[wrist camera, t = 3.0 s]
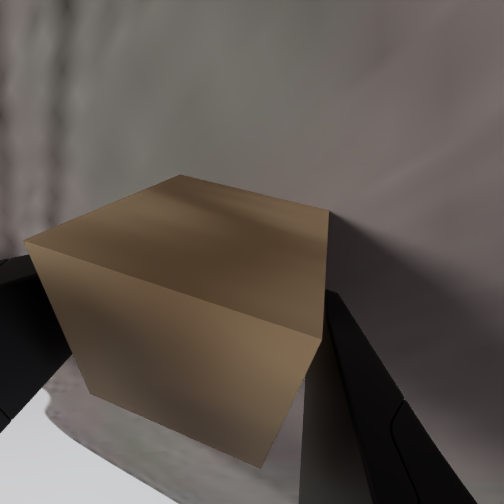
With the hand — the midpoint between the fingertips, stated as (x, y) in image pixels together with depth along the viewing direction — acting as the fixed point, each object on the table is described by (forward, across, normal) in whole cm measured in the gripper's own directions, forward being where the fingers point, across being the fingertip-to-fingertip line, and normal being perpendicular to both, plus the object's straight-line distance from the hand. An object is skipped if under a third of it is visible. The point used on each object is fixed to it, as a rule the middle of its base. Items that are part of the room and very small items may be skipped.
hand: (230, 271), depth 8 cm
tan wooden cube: (+1, 0, 0) cm, 1 cm away
